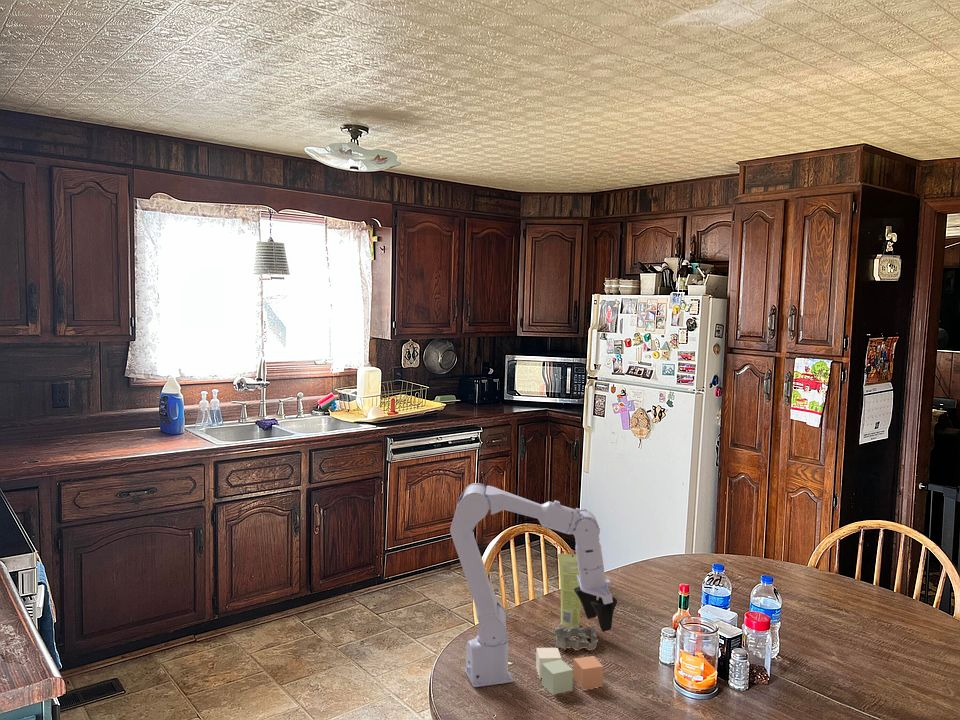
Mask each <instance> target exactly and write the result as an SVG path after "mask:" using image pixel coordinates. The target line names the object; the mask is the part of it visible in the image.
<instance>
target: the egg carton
mask: <svg viewBox="0 0 960 720" xmlns="http://www.w3.org/2000/svg"><path fill="white" fill-rule="evenodd" d="M572 636H576V637H578V640H577V639H576V638H572V639H571V637H572ZM587 636H589V637H590V638H591V640H590V641H588V638H587ZM555 640H556V642H555V647H556V646H558V647H561V648H564V649H565V648H566V647H574V648H575V649H579V648H580V647H587V648H588V649H593V648H594V647H597V646H598V642H599V639H598V635H597V631H596V627H595V626H594V625H592V626H588V627H585V626H582V627H580V625H579V626H578V627H566V626H561V625H559V626H556V627H555V628H554V641H555ZM597 648H598V647H597Z"/></svg>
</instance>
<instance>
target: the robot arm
mask: <svg viewBox="0 0 960 720" xmlns="http://www.w3.org/2000/svg"><path fill="white" fill-rule="evenodd" d="M455 507H456V508H455V512H454V515H453V518H452V522H451V524H450V529H449V531H450V532H449V533H450V535H451V538H452V541H453V545H454V547H455V550H456V553H457V556H458V559H459V561H460V562H459V563H460V565H461V568H462V571H463V574H464V575H465V580H466V582H467V585H468V588H469V590H470V594H471V597H472V599H473V603H474V607H475V614H476V619H477V621H478V626H477V627H478V628H477V629H478V630H477V635H476V637H475V638H473V639H471V640H470V639H469V640H467V641H466V644H465V669H464V672H465V673H466V675H467V677H468V680H469V681H470V683H471V685H472V687H473V688H479V687H485V686H494V685H495V686H496V685H499V684H500V685H502V684H508V683H513V682H514V678H513V677H512V674H511V673H510V671H508V670H509V635H508V633H507V626H506V625H507V618H508V617H507V615H508V614H507V611H506V608H505V607H504V606H503V605H502V604H501V603H500V601H499V599H498V597H497V594H496V593H494V590H493V587H492V584H491V582H490V578H489V576H488V575H489V574H488V572H487V569H486V566H485V563H484V560H483V557H482V554H481V552H480V549H479V546H478V543H477V541H476V538H475V534H474V532H473V531H474V529H475V528H476V526H477V524H478V523H479V522H480V521H481V520H482V519H484V518H485V517H486V516H487V514H488V513H489V510H490V515H492V516H493V515H494V514H497V513H500V512H502V511H508V512H511V513H515V514H517V515H522V516H526V517H530V518H533V519H537V520H538V522H539V524H540V525H541V526H542V527H545V528H547V529H550V530H554V531H557V532H559V533H563V534H566V535H573V537H574V539H575V540H574V541H575V548H574V549H575V554H576V556H577V563H578V570H579V575H577V583H578V584H579V585H580V586H579V587H577V588H575V589H574V591H575V593H576V594H577V596H578V597H579V599H580V601H581V607H582V608H583V612H584V613H585V616H586V618H587V619H588V620H590V619H594V618H596V617H597V621H598V623H599V624H598V625H599V627H600V630H601V632H606V631H611V630H612V626H613V618H614V613H615V612H614V611H615V609H616V606H617V605H618V599H617V598H616V597H614V596H613V595H612V593H611V591H610V590H609V586H610V585H611V584H612V582H611V580H610V579H608V578H606V575H605V567H604V559H603V551H602V545H601V543H600V532H601V527H599V526H600V525H599V523H598V522H597V519H596V516H595V515H594V513H592V512H591V511H589V510H587V509H585V508H581V509H580V508H578V507H576V508H572V507H569V506H565V505H562V504H561V502H560V501H559V500H556V499H555V500H553V501H550V500H549V501H546V502H545V503H538V502H536V501H533V500H530V499H527V498H525V497H522V496H519V495H516V494H513V493H511V492H508V491H506V490H502V489H500V488H498V487H496V486H492V485H486V486H485V484H483V483H480V482H474V483H471V484H469V485H467V486H466V487H465V488H464V490H463V491H462V493H461V494H460V496H459V498H458V501H457V505H456V506H455Z"/></svg>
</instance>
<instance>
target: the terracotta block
mask: <svg viewBox="0 0 960 720" xmlns="http://www.w3.org/2000/svg"><path fill="white" fill-rule="evenodd" d="M572 669H573V678H574V679H575V681H576V682H577V683H578V685H579V686H580V687H581V689H590V688H595V687H602V686H603V687H604V665H603V664H602V663H601V662H600V661H599V659H597V658H596V656H594V655H591V656H584V657H583V656H582V657H575V658H573V668H572ZM575 681H574V682H575ZM576 682H575V683H576ZM578 685H577V686H578ZM579 686H578V687H579ZM580 687H579V688H580ZM581 689H580V690H581Z"/></svg>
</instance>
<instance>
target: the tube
mask: <svg viewBox="0 0 960 720" xmlns="http://www.w3.org/2000/svg"><path fill="white" fill-rule="evenodd" d="M557 558H558V565H559V569H558V570H559V580H560V583H559V584H560V585H559V586H560V625H561V624H562V625H563V626H566V627H577V626H579V627H580V622H581V620H580V619H581V607H582V603H581V601H580V599H579V597H578V596H577V594H576V593H575V591H574V589H575V588H577V587H579V586H580V585H579V584H578V583H577V575H579V570H578V563H577V556H576V553H575V554H574V553H573V554H572V553H557Z"/></svg>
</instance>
